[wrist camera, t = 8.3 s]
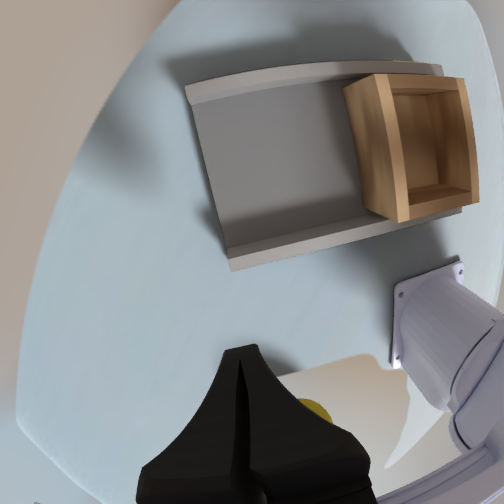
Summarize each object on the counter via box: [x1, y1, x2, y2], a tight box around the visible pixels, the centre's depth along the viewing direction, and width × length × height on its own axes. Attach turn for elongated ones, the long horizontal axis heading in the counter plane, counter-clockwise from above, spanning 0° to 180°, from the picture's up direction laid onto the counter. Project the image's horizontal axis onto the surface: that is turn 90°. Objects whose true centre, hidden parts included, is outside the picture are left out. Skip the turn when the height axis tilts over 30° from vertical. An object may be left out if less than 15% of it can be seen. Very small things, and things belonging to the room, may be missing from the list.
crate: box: [342, 74, 479, 223], centre depth 15 cm, size 8×8×4 cm
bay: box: [184, 60, 462, 272], centre depth 17 cm, size 12×17×3 cm
